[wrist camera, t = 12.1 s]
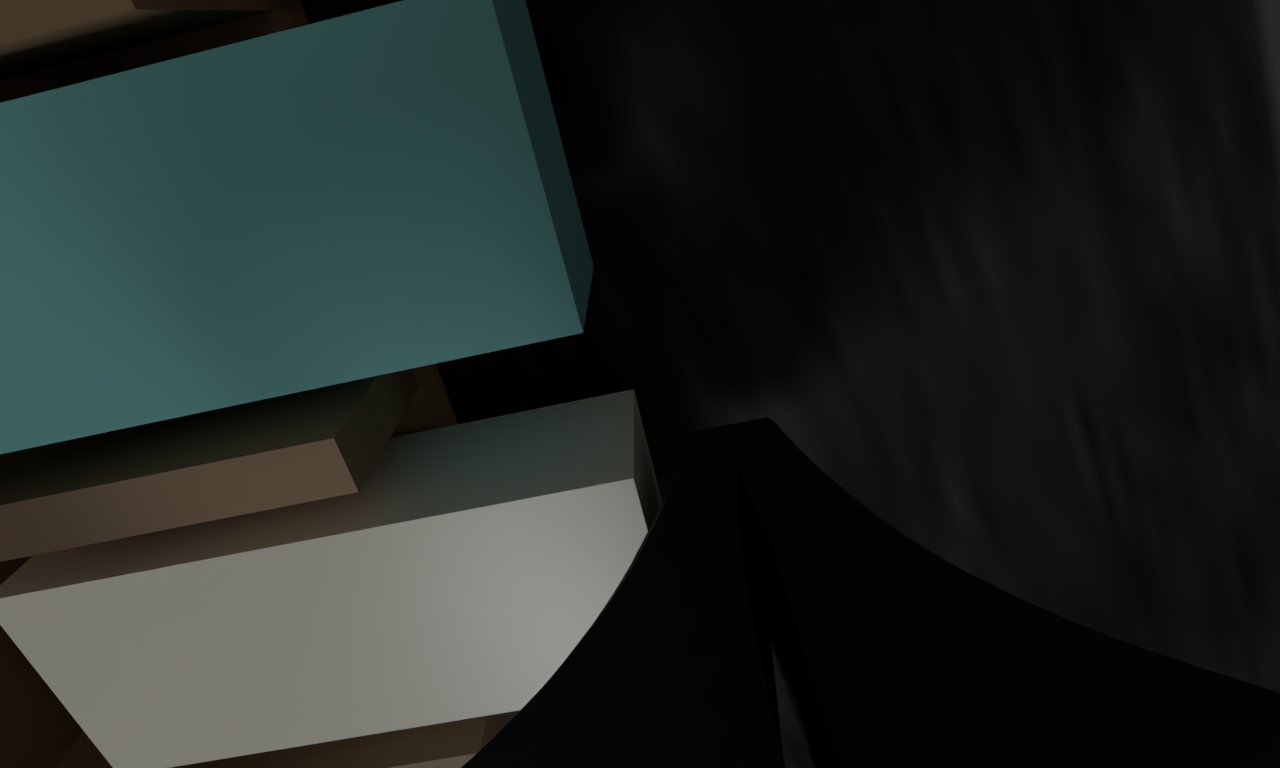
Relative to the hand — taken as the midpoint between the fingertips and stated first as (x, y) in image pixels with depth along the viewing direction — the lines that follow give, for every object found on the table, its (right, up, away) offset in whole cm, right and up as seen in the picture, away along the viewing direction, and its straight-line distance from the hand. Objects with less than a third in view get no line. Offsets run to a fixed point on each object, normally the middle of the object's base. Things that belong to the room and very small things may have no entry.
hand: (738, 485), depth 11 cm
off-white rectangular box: (-5, -1, +1) cm, 5 cm away
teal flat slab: (-6, +4, -1) cm, 7 cm away
